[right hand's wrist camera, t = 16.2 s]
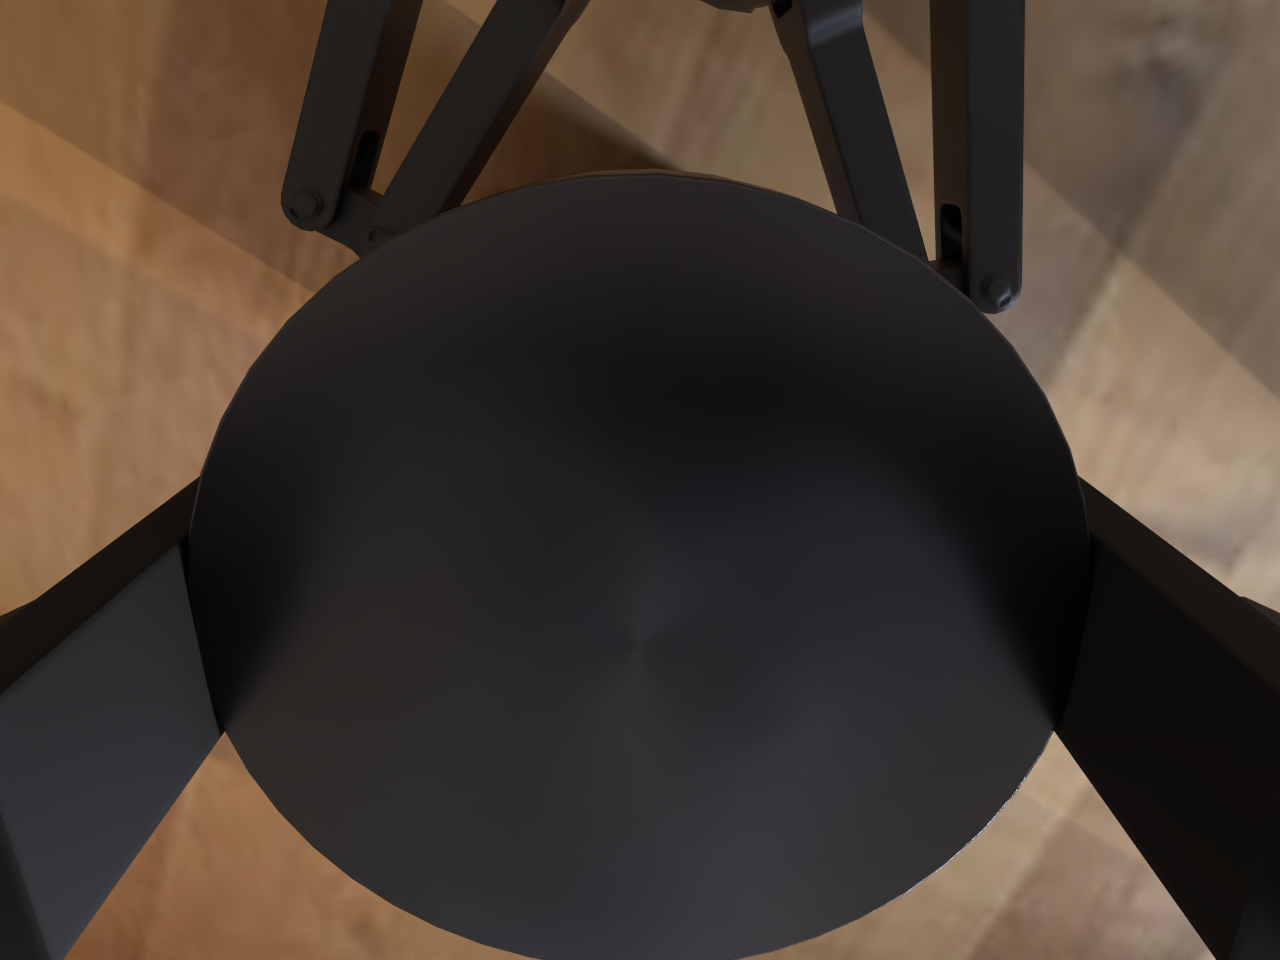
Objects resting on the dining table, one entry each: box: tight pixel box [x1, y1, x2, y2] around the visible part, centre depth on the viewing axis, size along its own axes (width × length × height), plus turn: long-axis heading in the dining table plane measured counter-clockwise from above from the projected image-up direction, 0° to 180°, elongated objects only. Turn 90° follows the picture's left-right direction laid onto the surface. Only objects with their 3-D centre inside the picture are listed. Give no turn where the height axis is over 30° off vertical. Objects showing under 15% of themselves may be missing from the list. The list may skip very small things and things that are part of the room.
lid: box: [187, 169, 1092, 960], centre depth 11 cm, size 11×11×2 cm
